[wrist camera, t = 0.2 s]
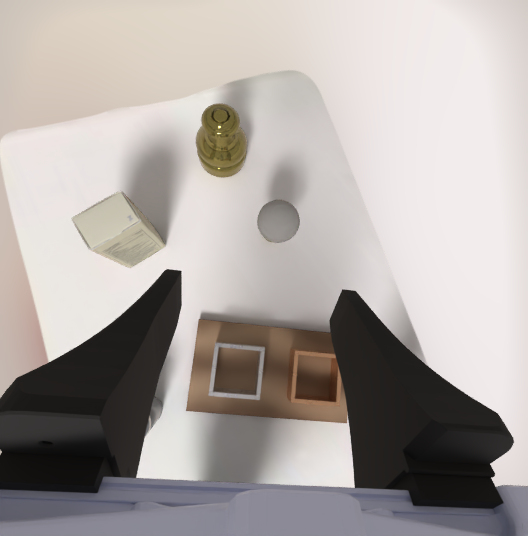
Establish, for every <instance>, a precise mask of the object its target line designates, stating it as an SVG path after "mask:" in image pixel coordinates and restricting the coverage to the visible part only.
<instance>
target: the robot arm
mask: <svg viewBox="0 0 528 536" xmlns="http://www.w3.org/2000/svg"><path fill="white" fill-rule="evenodd" d="M181 305H182V301H181V271H178V270H169V269H167V270H165V271H164V272H163V273H162V275H161V276H160V277H159V278H158V279H157V280H156V281H155V283H154V284H153V285H152V286H151V287H150V288H149V289H148V290H147V291H146V292H145V293H144V294H143V295H142V296H141V297H140V298H139V299H138V300H137V301H136V302H135V303H134V304H133V305H132V306H131V307H130V308H129V309H127V310H126V311H125V312H124V313H123V314H122V315H121V316H119V317H118V318H117V319H116V320H115V321H113V322H112V323H111V324H109V325H108V326H107V327H105V328H104V329H103V330H101V331H100V332H99V333H97V334H96V335H94V336H93V337H91V338H90V339H88V340H87V341H85V342H84V343H82V344H81V345H79V346H77V347H76V348H74V349H72V350H71V351H69V352H67V353H65V354H64V355H62V356H60V357H58V358H57V359H55V360H53V361H51V362H49V363H47V364H45V365H43V366H41V367H39V368H37V369H35V370H33V371H30V372H29V373H26V374H24V375H22V376H20V377H18V378H16V380H15V381H14V382H13V383H12V385H10V387H9V388H8V389H7V390H6V391H5V393H4V394H3V395H2V397H1V398H0V450H1V451H2V453H1V455H0V536H528V486H513V485H504V486H503V485H502V486H498V487H495V485H494V483H493V481H492V479H491V477H494V476H495V473H494V471H493V469H492V467H491V465H490V463H492V462H493V461H495V460H496V459H498V458H499V457H501V456H502V455H503V454H505V453H506V452H507V451H509V450H510V449H511V447H512V445H513V443H514V440H513V437H512V435H511V434H510V432H509V431H508V429H507V427H506V426H505V424H504V422H503V421H502V419H501V418H500V416H499V415H498V414H497V413H496V412H494V411H492V410H491V409H489V408H487V407H486V406H484V405H483V404H481V403H479V402H478V401H476V400H474V399H472V398H471V397H470V396H468V395H466V394H465V393H464V392H462V391H460V390H459V389H457V388H456V387H455V386H453V385H452V384H450V383H449V382H448V381H446V380H445V379H444V378H442V377H441V376H440V375H438V374H437V373H436V372H434V371H433V370H432V369H431V368H429V367H428V366H427V365H426V364H424V363H423V362H422V361H421V360H420V359H419V358H417V357H416V356H415V355H414V354H413V353H412V352H411V351H410V350H409V349H407V348H406V347H405V346H404V345H403V344H402V343H401V342H400V341H399V340H398V339H397V338H396V337H395V336H394V335H393V334H392V333H391V331H390V330H389V329H388V328H387V327H386V326H385V325H384V324H383V323H382V322H381V320H380V319H379V318H378V317H377V316H376V315H375V313H374V312H373V311H372V310H371V309H370V308H369V306H368V305H367V304H366V303H365V302H364V300H363V299H362V298H361V297H360V296H359V294H358V293H357V292H356V291H351V290H343V289H342V292H341V294H340V296H339V299H338V301H337V304H336V306H335V309H334V311H333V313H332V316H331V318H330V330H331V338H332V344H333V348H334V352H335V356H336V360H337V364H338V367H339V371H340V375H341V379H342V383H343V387H344V392H345V398H346V404H347V411H348V419H349V427H350V435H351V445H352V455H353V467H354V482H355V488H345V487H322V486H300V485H278V484H256V483H233V482H211V481H189V480H167V479H144V478H136V475H137V471H138V466H139V461H140V456H141V451H142V447H143V442H144V438H145V433H146V429H147V424H148V420H149V416H150V411H151V407H152V403H153V399H154V395H155V391H156V387H157V383H158V379H159V376H160V372H161V369H162V366H163V364H164V361H165V358H166V355H167V352H168V350H169V347H170V344H171V341H172V338H173V336H174V333H175V330H176V327H177V323H178V319H179V314H180V310H181Z"/></svg>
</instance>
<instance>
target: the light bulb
mask: <svg viewBox="0 0 528 536" xmlns="http://www.w3.org/2000/svg"><path fill="white" fill-rule="evenodd" d="M257 223H258V228H259V230H260V232H261V234H262V235H263V236H264V237H265V238H266V240H268V241H270V242H277V243H279V242H284V241H287V240H289V239H291V238H292V237H293V236H294V235H295V233H296V232H297V230H298V228H299V223H300V219H299V215H298V212H297V210H296V208H295V207H294V206H293V205H292V204H290V203H289V202H287V201H284V200H274V201H271V202H269V203H267V204H266V205H264V206H263V207H262V209H261V210H260V212H259V215H258V220H257Z"/></svg>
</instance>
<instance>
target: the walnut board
mask: <svg viewBox="0 0 528 536" xmlns="http://www.w3.org/2000/svg"><path fill="white" fill-rule="evenodd" d="M216 341H218V342H228V343H238V344H248V345H259V346H263V347H265V353H264V363H263V373H262V383H261V393H260V400H253V399H241V398H229V397H217V396H208V395H209V387H210V379H211V371H212V364H213V356H214V348H215V342H216ZM290 349H299V350H310V351H320V352H330V353H335V352H334V348H333V344H332V338H331V333H326V332H317V331H307V330H298V329H288V328H278V327H269V326H259V325H249V324H240V323H230V322H221V321H211V320H201V319H199V322H198V329H197V337H196V344H195V351H194V358H193V365H192V372H191V380H190V387H189V394H188V401H187V408H186V411H195V412H208V413H221V414H234V415H247V416H259V417H272V418H285V419H298V420H311V421H324V422H337V423H347V404H346V398H345V392H344V387H343V383H342V379H341V393H340V407H338V406H326V405H314V404H302V403H291V402H290V401H289V400H288V398H287V385H288V373H289V361H290ZM257 361H258V351H255V350H244V349H234V348H223V347H219V352H218V360H217V368H216V376H215V384H214V387H219V388H230V389H242V390H255V380H256V371H257ZM330 372H331V358H327V357H317V356H306V355H298V365H297V378H296V391H295V394H301V395H313V396H325V397H329V389H330Z"/></svg>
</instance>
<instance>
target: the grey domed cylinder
mask: <svg viewBox="0 0 528 536" xmlns="http://www.w3.org/2000/svg"><path fill="white" fill-rule="evenodd" d="M161 413H162V404H161V402H160V400H159V399H158V398H156V397H154V399H153V403H152V407H151V411H150V416H149V420H148V424H147V429H146V433H145V437H146V436H147V434H148V433H149V431H150V429H151V428H152V427H153V425H154V424H155V423H156V421H157V420H158V419H159V417H160V416H161Z"/></svg>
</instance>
